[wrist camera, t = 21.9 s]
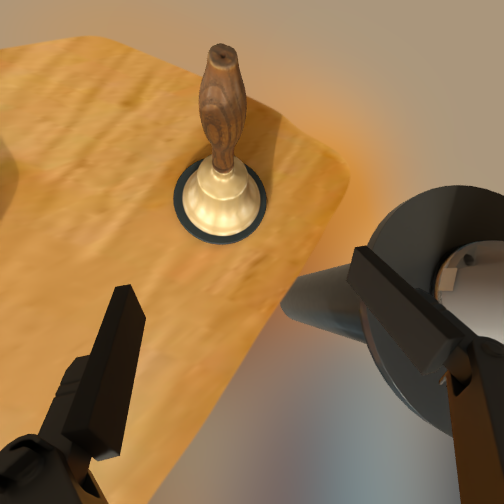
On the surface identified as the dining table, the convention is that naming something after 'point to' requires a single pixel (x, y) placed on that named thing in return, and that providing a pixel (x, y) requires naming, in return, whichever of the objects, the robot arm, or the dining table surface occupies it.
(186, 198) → the hand bell
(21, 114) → the dining table surface
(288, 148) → the dining table surface
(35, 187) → the dining table surface
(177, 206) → the corner coaster
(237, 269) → the dining table surface
